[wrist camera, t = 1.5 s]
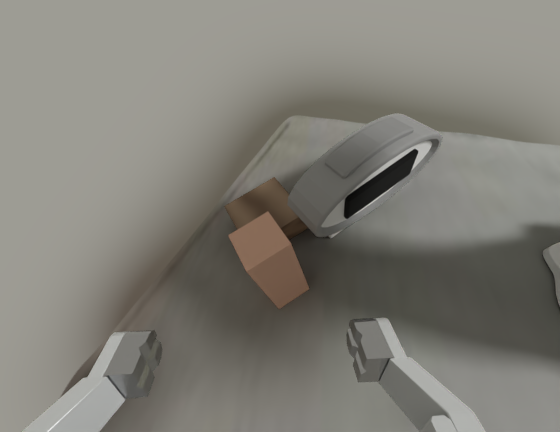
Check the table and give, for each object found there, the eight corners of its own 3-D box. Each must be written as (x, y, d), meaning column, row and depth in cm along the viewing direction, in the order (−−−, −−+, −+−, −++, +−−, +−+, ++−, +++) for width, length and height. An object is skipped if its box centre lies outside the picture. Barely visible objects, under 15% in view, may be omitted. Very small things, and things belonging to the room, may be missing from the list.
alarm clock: (317, 255, 36) (311, 206, 25) (293, 227, 39) (279, 174, 29) (427, 174, 40) (461, 103, 30) (397, 155, 43) (418, 85, 33)
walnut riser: (279, 192, 45) (274, 177, 42) (308, 227, 39) (305, 213, 36) (233, 219, 44) (224, 206, 41) (256, 260, 38) (247, 248, 35)
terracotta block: (291, 261, 37) (268, 211, 26) (309, 288, 34) (291, 243, 23) (263, 279, 36) (228, 235, 26) (278, 309, 33) (246, 271, 23)
